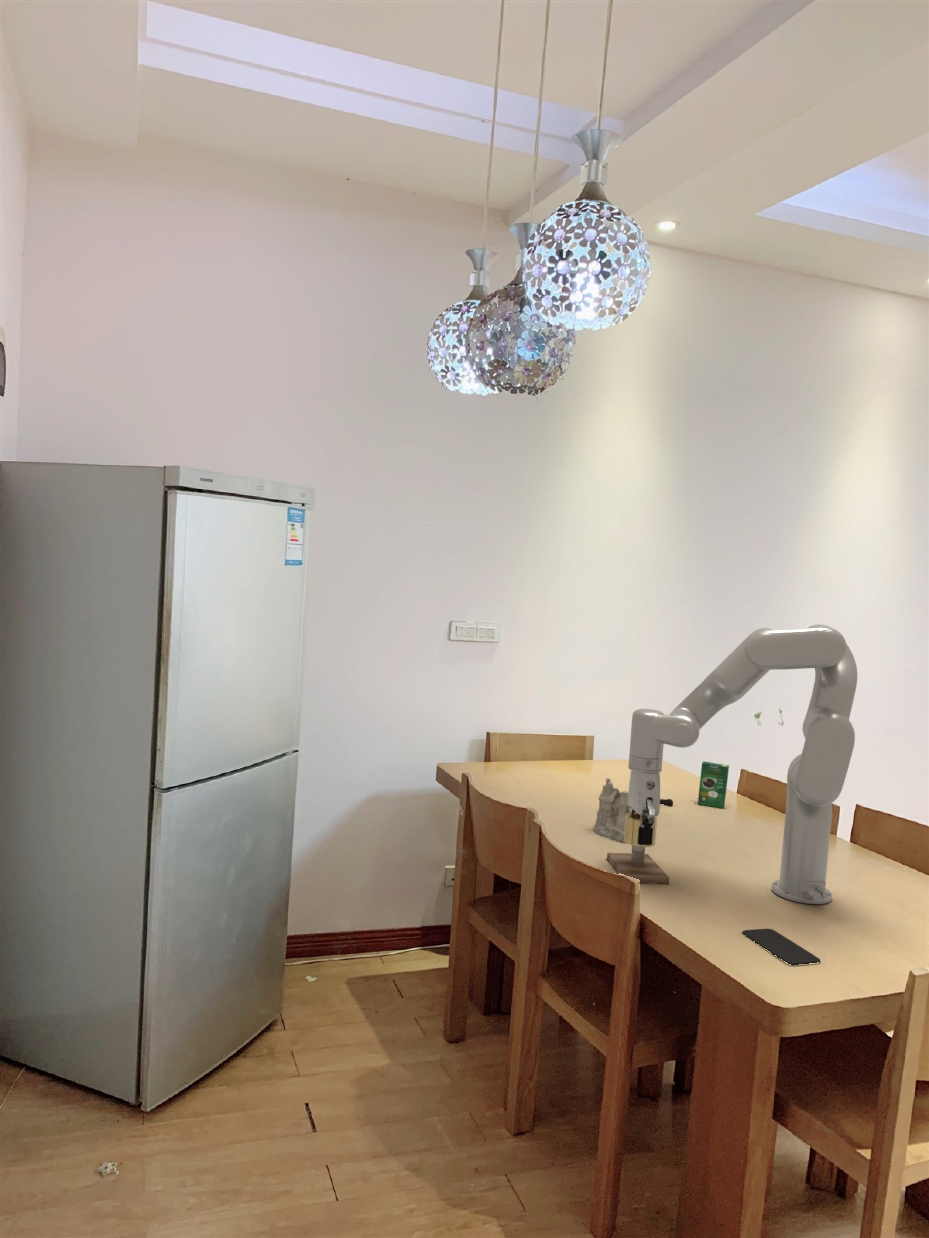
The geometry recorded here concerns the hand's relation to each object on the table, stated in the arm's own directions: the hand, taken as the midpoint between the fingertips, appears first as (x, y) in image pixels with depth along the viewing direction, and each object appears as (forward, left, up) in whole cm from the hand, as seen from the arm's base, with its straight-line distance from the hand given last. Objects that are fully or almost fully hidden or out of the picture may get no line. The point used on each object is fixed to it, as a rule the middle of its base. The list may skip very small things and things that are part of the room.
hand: (639, 838), depth 207 cm
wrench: (+47, -19, -8) cm, 52 cm away
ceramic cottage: (+30, -5, -8) cm, 31 cm away
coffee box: (+60, -41, -8) cm, 73 cm away
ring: (0, 0, -1) cm, 1 cm away
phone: (-40, -16, -8) cm, 44 cm away
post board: (0, 0, -8) cm, 8 cm away
